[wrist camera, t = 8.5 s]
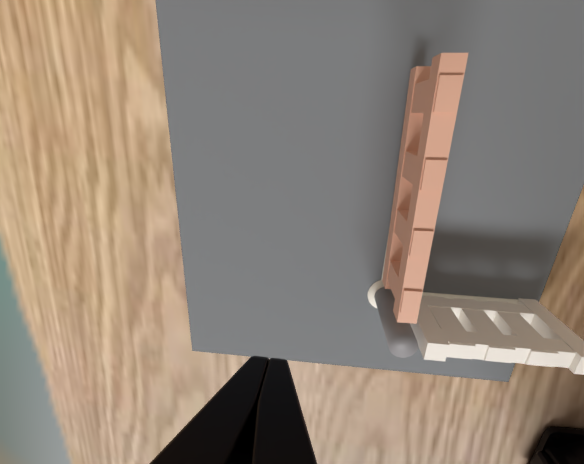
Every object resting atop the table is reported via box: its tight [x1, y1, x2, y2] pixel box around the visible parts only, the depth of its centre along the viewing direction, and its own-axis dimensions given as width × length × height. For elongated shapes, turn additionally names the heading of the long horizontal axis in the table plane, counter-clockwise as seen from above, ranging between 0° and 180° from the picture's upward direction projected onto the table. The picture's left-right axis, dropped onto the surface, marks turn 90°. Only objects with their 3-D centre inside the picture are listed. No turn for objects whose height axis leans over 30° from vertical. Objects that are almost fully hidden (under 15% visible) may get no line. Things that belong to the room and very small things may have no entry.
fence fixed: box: [410, 296, 584, 375], centre depth 16 cm, size 8×1×5 cm, turn 88°
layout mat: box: [156, 0, 584, 382], centre depth 18 cm, size 22×22×1 cm
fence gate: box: [374, 53, 468, 358], centre depth 15 cm, size 13×1×4 cm, turn 179°
